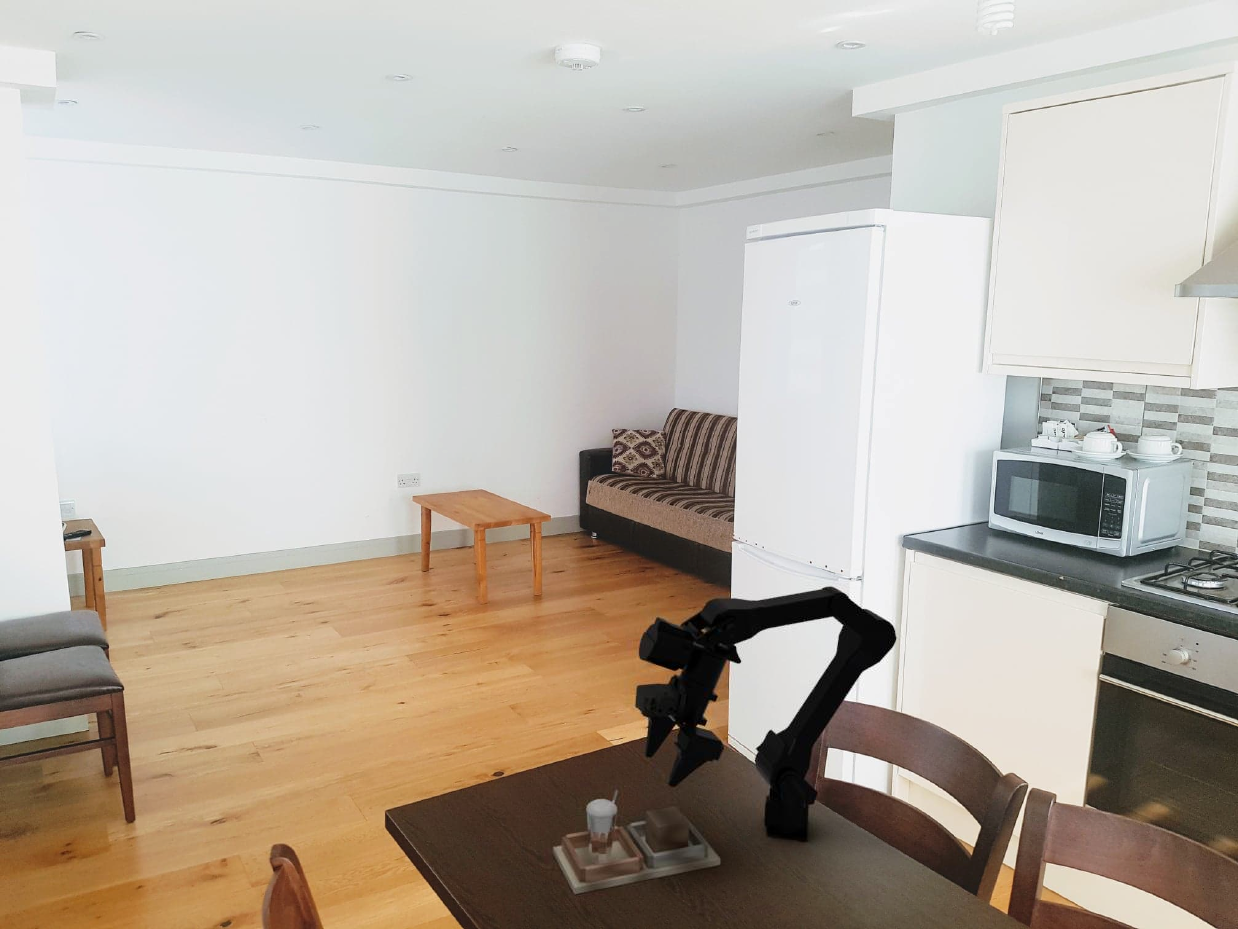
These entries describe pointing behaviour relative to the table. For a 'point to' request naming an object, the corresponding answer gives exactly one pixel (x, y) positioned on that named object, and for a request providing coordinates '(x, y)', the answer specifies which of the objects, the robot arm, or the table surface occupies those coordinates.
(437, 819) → the table surface
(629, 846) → the grey-brown divided tray
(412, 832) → the table surface
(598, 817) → the milkshake
